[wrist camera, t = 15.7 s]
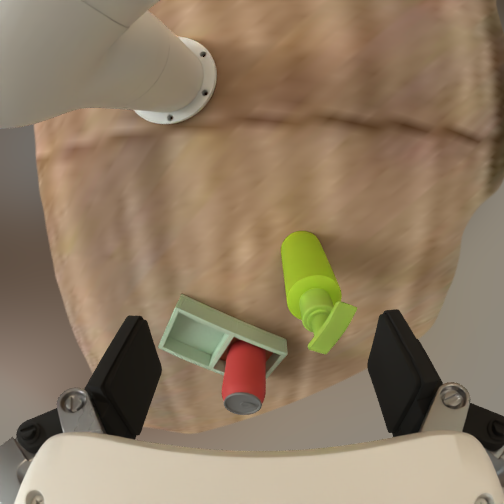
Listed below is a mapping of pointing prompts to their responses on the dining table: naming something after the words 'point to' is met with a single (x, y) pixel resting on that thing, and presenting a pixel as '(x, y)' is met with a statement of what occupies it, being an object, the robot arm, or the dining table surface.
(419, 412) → the robot arm
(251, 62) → the dining table surface
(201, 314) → the divided tray
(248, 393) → the beer can
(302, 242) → the soap dispenser
